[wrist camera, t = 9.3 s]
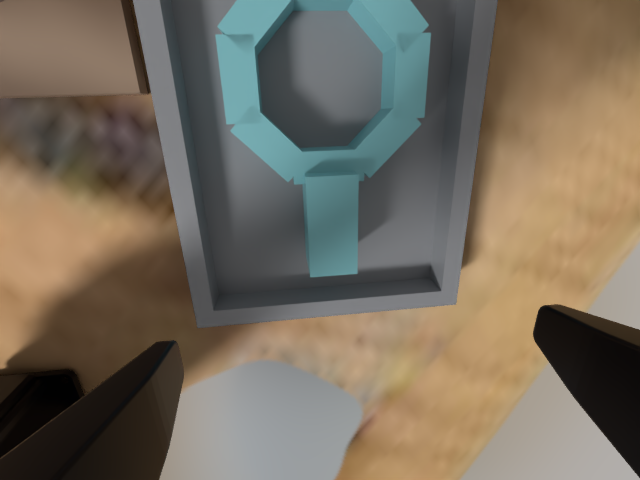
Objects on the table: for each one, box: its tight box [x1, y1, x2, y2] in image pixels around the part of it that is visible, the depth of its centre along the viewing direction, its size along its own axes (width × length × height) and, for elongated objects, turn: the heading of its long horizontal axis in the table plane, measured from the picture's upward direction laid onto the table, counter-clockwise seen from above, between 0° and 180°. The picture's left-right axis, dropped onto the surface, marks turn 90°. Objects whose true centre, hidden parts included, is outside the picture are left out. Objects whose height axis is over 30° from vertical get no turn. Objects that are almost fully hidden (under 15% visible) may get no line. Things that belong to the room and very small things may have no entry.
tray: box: [133, 0, 498, 328], centre depth 16 cm, size 20×15×2 cm
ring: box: [215, 0, 431, 278], centre depth 15 cm, size 14×9×3 cm, turn 2°
